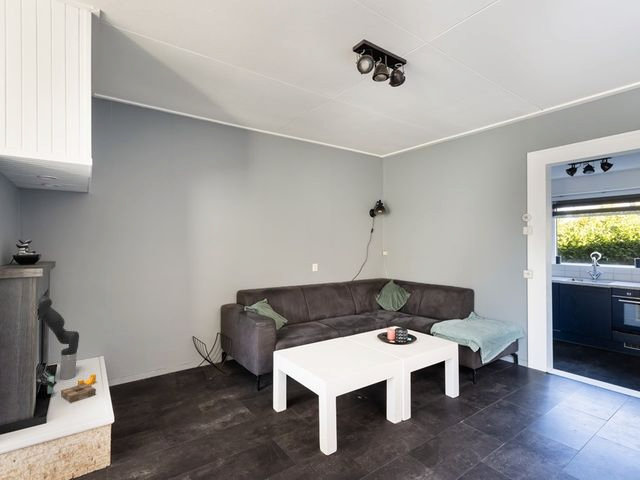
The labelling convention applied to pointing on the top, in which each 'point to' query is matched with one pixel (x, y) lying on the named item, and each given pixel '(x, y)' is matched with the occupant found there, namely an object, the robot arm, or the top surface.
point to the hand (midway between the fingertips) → (54, 385)
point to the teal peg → (50, 390)
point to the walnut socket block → (78, 393)
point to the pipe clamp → (89, 381)
